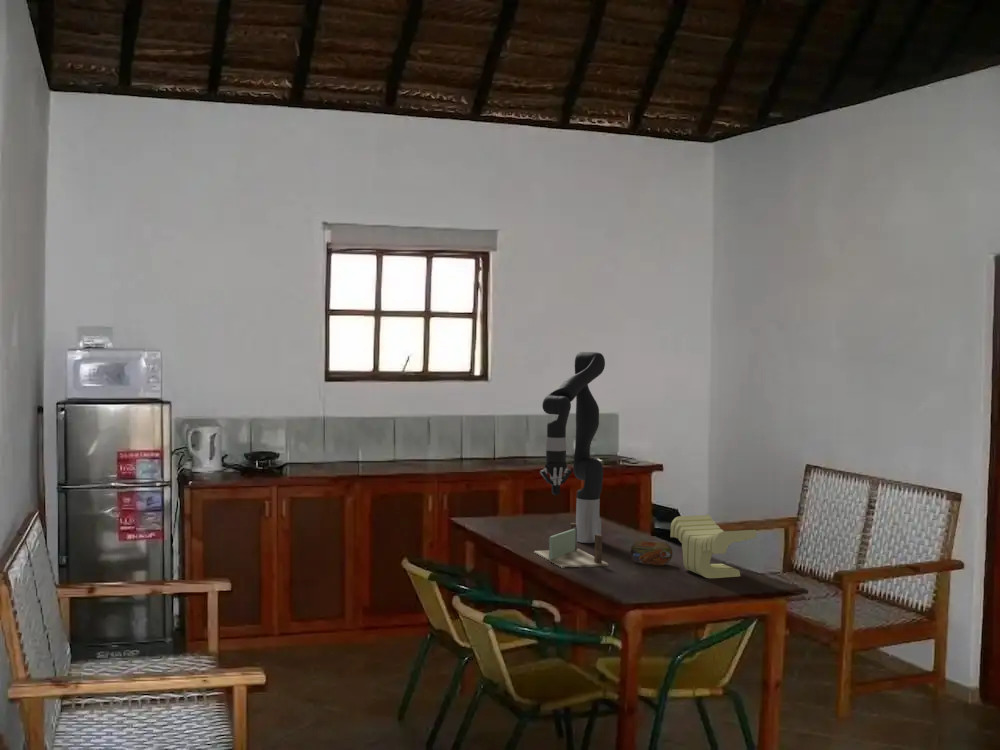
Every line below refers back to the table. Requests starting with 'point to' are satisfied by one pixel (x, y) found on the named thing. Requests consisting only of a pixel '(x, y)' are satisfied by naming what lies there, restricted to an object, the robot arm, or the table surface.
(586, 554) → the gate frame
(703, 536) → the pale yellow c-shaped piece
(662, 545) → the tin
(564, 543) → the gate
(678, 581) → the table surface
